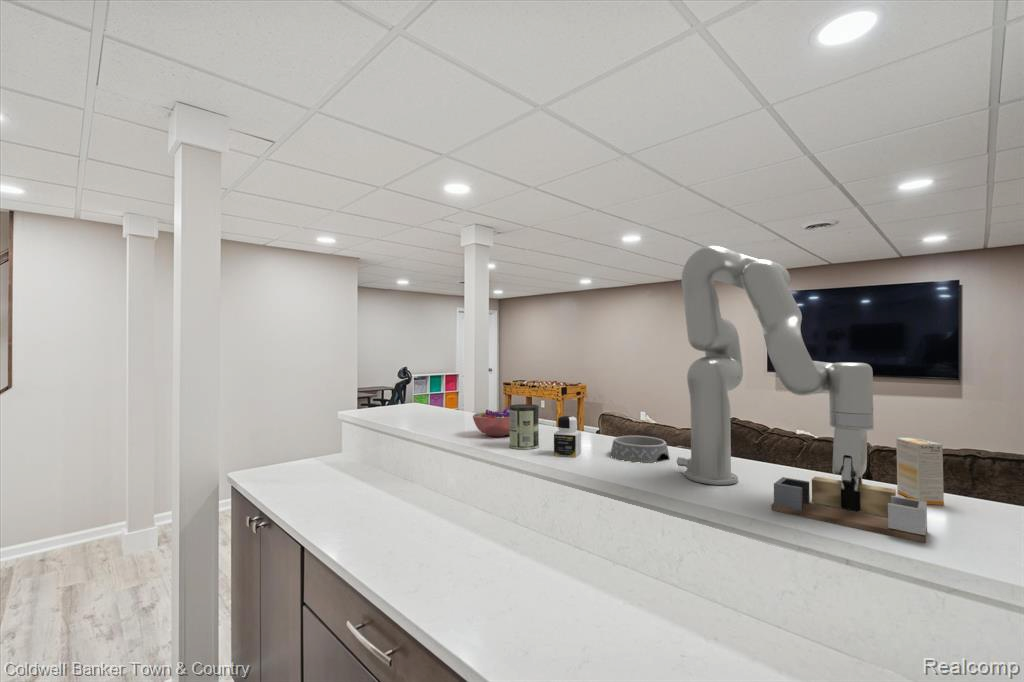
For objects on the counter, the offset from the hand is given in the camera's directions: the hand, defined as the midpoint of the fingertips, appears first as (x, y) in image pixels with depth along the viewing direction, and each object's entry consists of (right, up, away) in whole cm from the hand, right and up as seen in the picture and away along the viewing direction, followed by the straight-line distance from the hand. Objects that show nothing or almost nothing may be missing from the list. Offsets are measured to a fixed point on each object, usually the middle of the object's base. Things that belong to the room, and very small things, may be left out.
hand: (852, 506), depth 98 cm
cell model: (-78, -2, +82) cm, 113 cm away
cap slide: (0, +1, -14) cm, 14 cm away
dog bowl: (-32, -2, +47) cm, 57 cm away
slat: (0, 0, 0) cm, 0 cm away
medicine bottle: (-54, -1, +50) cm, 74 cm away
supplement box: (+19, -1, +6) cm, 20 cm away
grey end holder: (-13, +1, -1) cm, 13 cm away
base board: (-7, 0, -7) cm, 10 cm away
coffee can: (-68, -2, +62) cm, 92 cm away
